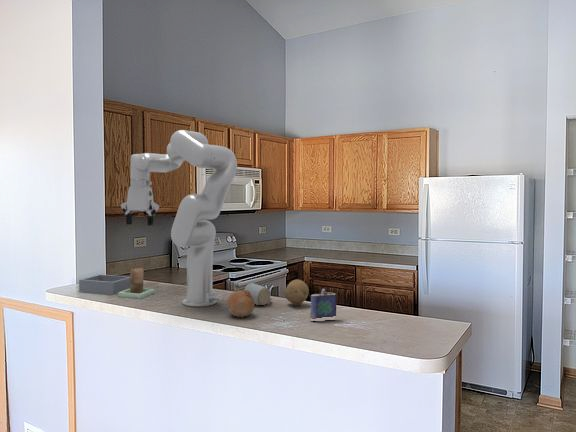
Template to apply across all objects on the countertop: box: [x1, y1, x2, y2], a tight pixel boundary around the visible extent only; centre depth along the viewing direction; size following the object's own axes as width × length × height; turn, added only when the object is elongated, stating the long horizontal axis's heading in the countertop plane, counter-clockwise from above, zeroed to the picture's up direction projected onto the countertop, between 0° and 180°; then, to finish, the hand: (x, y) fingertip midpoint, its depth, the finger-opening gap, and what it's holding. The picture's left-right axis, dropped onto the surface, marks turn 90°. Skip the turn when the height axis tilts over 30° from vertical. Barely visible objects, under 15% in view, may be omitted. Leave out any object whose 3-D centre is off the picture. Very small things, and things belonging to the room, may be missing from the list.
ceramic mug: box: [243, 282, 273, 306], centre depth 174 cm, size 11×8×8 cm
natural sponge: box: [284, 279, 310, 306], centre depth 172 cm, size 9×9×10 cm
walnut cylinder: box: [129, 267, 144, 294], centre depth 183 cm, size 5×5×10 cm
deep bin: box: [78, 274, 130, 296], centre depth 191 cm, size 16×13×5 cm
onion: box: [226, 289, 256, 318], centre depth 156 cm, size 10×9×10 cm
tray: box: [117, 287, 155, 300], centre depth 183 cm, size 10×10×2 cm
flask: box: [309, 288, 338, 319], centre depth 153 cm, size 9×3×11 cm, turn 109°
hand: (139, 224), depth 191 cm, fingers open, 9 cm apart
